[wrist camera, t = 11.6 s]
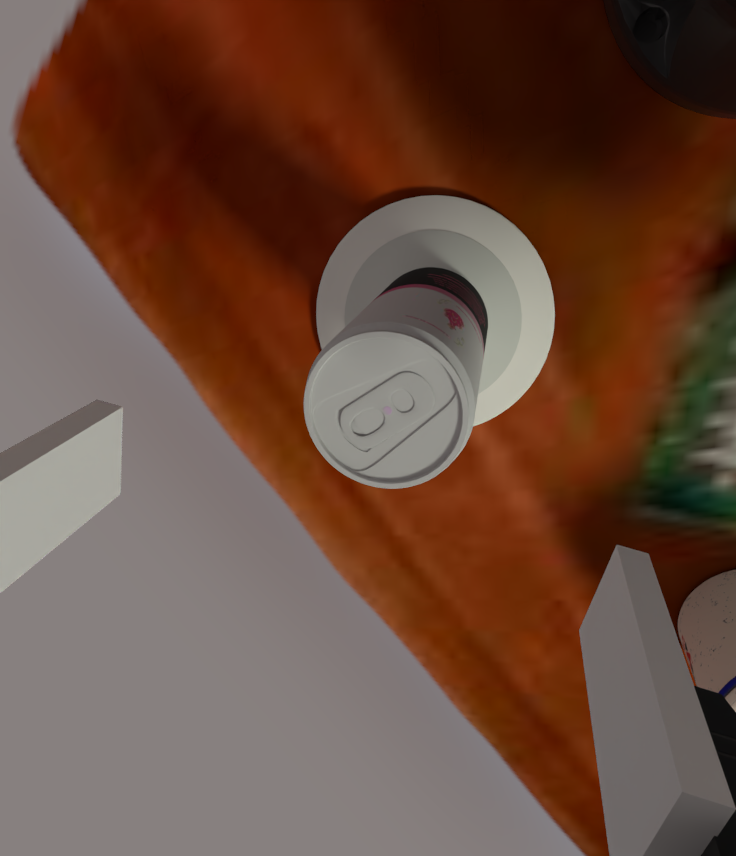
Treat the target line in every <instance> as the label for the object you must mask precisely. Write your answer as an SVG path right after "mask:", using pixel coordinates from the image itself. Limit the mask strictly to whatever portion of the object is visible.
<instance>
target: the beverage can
mask: <svg viewBox="0 0 736 856" xmlns="http://www.w3.org/2000/svg"><path fill="white" fill-rule="evenodd" d="M487 331H488V316H487V311H486V307H485V304H484V302H483V300H482V298H481V296H480V294H479V293H478V291H477V290H476V289H475V287H474V286H473V285H472V284H471V283H470V282H469V281H468V280H466V279H465V278H464V277H462V276H461V275H459V274H457V273H455V272H453V271H450V270H447V269H443V268H436V267H425V268H419V269H415V270H412V271H409V272H407V273H405V274H403V275H401V276H400V277H398V278H397V279H396V280H395V281H393V282H392V283H391V284H390V285H389V286H388V287H387V288H386V289H385V290H384V291H383V292H382V293H381V294H380V295H379V296H377V297H376V298H375V299H374V300H373V301H372V302H371V303H370V304H369V305H368V306H367V307H366V308H365V309H364V310H363V311H362V312H361V313H360V314H359V315H357V316H356V317H355V318H354V319H353V320H352V321H351V322H350V323H349V324H348V325H347V326H346V327H345V328H344V329H343V330H342V331H341V332H340V333H338V334H337V335H336V336H335V337H334V338H333V339H332V340H331V341H330V342H329V343H328V344H327V345H326V346H325V347H324V348H323V349H322V351H321V352H320V353H319V355H318V356H317V358H316V359H315V361H314V363H313V365H312V367H311V369H310V372H309V375H308V379H307V383H306V388H305V394H304V415H305V421H306V425H307V428H308V431H309V434H310V436H311V438H312V440H313V442H314V444H315V446H316V447H317V449H318V450H319V452H320V453H321V454H322V456H323V457H324V458H325V459H326V460H327V461H328V462H329V463H330V464H331V465H332V466H333V467H334V468H336V469H337V470H338V471H340V472H341V473H342V474H344V475H346V476H347V477H349V478H351V479H353V480H355V481H357V482H360V483H363V484H366V485H369V486H373V487H379V488H389V489H396V488H406V487H411V486H414V485H418V484H421V483H423V482H426V481H428V480H430V479H432V478H433V477H435V476H437V475H438V474H439V473H441V472H442V471H443V470H444V469H446V468H447V467H448V466H449V465H450V464H451V462H452V461H454V460H455V458H456V457H457V456H458V455H459V454H460V452H461V451H462V450H463V448H464V446H465V445H466V443H467V441H468V439H469V436H470V434H471V431H472V428H473V423H474V418H475V411H476V405H477V398H478V391H479V385H480V378H481V371H482V365H483V358H484V351H485V345H486V338H487Z"/></svg>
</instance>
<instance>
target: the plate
mask: <svg viewBox="0 0 736 856" xmlns="http://www.w3.org/2000/svg"><path fill="white" fill-rule="evenodd" d="M425 267H436V268H443V269H447V270H450V271H453V272H455V273H457V274H459V275H461V276H462V277H464V278H465V279H466V280H468V281H469V282H470V283H471V284H472V285H473V286H474V287H475V289H476V290H477V291H478V293H479V294H480V296H481V298H482V300H483V302H484V304H485V307H486V311H487V316H488V331H487V338H486V345H485V351H484V358H483V365H482V371H481V378H480V385H479V391H478V398H477V405H476V411H475V418H474V423H473V426H476V425H479V424H482V423H484V422H486V421H488V420H490V419H492V418H494V417H496V416H497V415H499V414H500V413H502V412H503V411H505V410H506V409H508V408H509V407H510V406H512V405H513V404H514V403H515V402H516V401H517V400H518V399H520V398H521V396H522V395H523V394H524V393H525V392H526V391H527V390H528V389H529V387H530V386H531V385H532V383H533V382H534V380H535V379H536V377H537V376H538V374H539V373H540V371H541V369H542V367H543V365H544V363H545V361H546V358H547V355H548V352H549V349H550V346H551V342H552V337H553V332H554V319H555V309H554V297H553V292H552V288H551V283H550V280H549V277H548V274H547V272H546V269H545V266H544V264H543V262H542V260H541V258H540V256H539V255H538V253H537V251H536V249H535V248H534V246H533V245H532V244H531V242H530V241H529V240H528V238H527V237H526V236H525V235H524V234H523V233H522V232H521V231H520V230H519V229H518V228H517V227H516V226H515V225H514V224H513V223H512V222H510V221H509V220H508V219H506V218H505V217H504V216H502V215H501V214H499V213H498V212H496V211H494V210H492V209H491V208H489V207H487V206H485V205H482V204H479V203H477V202H474V201H472V200H468V199H464V198H459V197H455V196H445V195H427V196H418V197H413V198H407V199H403V200H401V201H398V202H395V203H392V204H389V205H387V206H385V207H383V208H381V209H379V210H377V211H375V212H373V213H372V214H370V215H369V216H367V217H366V218H364V219H363V220H361V221H360V222H359V223H358V224H357V225H356V226H355V227H354V228H352V229H351V230H350V231H349V232H348V233H347V235H346V236H345V237H344V238H343V239H342V240H341V242H340V243H339V244H338V246H337V247H336V249H335V250H334V252H333V254H332V255H331V257H330V259H329V261H328V263H327V265H326V267H325V270H324V272H323V275H322V279H321V282H320V285H319V290H318V296H317V305H316V321H317V331H318V336H319V341H320V345H321V348H322V349H323V348H324V347H325V346H326V345H327V344H328V343H329V342H330V341H331V340H332V339H333V338H334V337H335V336H336V335H337V334H338V333H340V332H341V331H342V330H343V329H344V328H345V327H346V326H347V325H348V324H349V323H350V322H351V321H352V320H353V319H354V318H355V317H356V316H357V315H359V314H360V313H361V312H362V311H363V310H364V309H365V308H366V307H367V306H368V305H369V304H370V303H371V302H372V301H373V300H374V299H375V298H376V297H377V296H379V295H380V294H381V293H382V292H383V291H384V290H385V289H386V288H387V287H388V286H389V285H390V284H391V283H392V282H393V281H395V280H396V279H397V278H398V277H400V276H401V275H403V274H405V273H407V272H409V271H412V270H415V269H419V268H425Z"/></svg>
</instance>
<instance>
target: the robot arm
mask: <svg viewBox="0 0 736 856" xmlns="http://www.w3.org/2000/svg"><path fill="white" fill-rule="evenodd" d="M604 5H605V10H606V14H607V18H608V21H609V24H610V27H611V30H612V33H613V35H614V37H615V39H616V42H617V44H618V46H619V48H620V50H621V51H622V53H623V55H624V57H625V58H626V60H627V61H628V62H629V64H630V65H631V67H632V68H633V69H634V70H635V72H636V73H637V74H638V75H639V76H640V77H641V78H642V79H643V80H644V81H645V82H646V83H647V84H648V85H649V86H650V87H651V88H652V89H654V90H655V91H656V92H658V93H659V94H660V95H662V96H663V97H665V98H666V99H668V100H670V101H672V102H673V103H675V104H677V105H679V106H682V107H684V108H686V109H689V110H692V111H694V112H697V113H701V114H705V115H709V116H714V117H720V118H731V119H736V0H604ZM122 419H123V407H122V406H118V405H115V404H111V403H108V402H104V401H100V400H95V401H93V402H92V403H90V404H88V405H87V406H84V407H83V408H81V409H79V410H77V411H76V412H74V413H72V414H70V415H68V416H66V417H65V418H63V419H61V420H59V421H57V422H56V423H54V424H52V425H50V426H48V427H47V428H45V429H43V430H41V431H39V432H38V433H36V434H34V435H32V436H30V437H28V438H27V439H25V440H23V441H21V442H20V443H18V444H16V445H14V446H12V447H11V448H9V449H7V450H5V451H3V452H1V453H0V593H1V592H2V591H4V590H5V589H6V588H7V587H8V586H10V585H11V584H12V583H13V582H14V581H16V580H17V579H18V578H19V577H20V576H22V575H23V574H24V573H25V572H27V571H28V570H29V569H30V568H31V567H32V566H34V565H35V564H36V563H37V562H39V561H40V560H41V559H42V558H44V557H45V556H46V555H47V554H48V553H49V552H51V551H52V550H53V549H54V548H56V547H57V546H58V545H59V544H61V543H62V542H63V541H64V540H65V539H67V538H68V537H69V536H70V535H71V534H73V533H74V532H75V531H76V530H77V529H79V528H80V527H81V526H82V525H83V524H85V523H86V522H87V521H88V520H89V519H91V518H92V517H93V516H94V515H96V514H97V513H98V512H99V511H100V510H102V509H103V508H104V507H105V506H106V505H108V504H109V503H110V502H111V501H113V500H114V499H115V498H116V497H117V496H119V495H120V494H121V460H122V422H123V420H122ZM579 633H580V640H581V648H582V655H583V662H584V670H585V677H586V685H587V692H588V699H589V707H590V714H591V721H592V729H593V736H594V744H595V751H596V758H597V766H598V773H599V780H600V788H601V795H602V803H603V810H604V817H605V825H606V832H607V839H608V847H609V854H610V856H736V712H735V711H734V709H733V708H732V707H731V706H730V704H729V703H728V702H727V701H726V699H725V698H724V697H723V696H722V694H720V693H716V692H713V691H710V690H706V689H703V688H700V687H697V686H694V685H693V682H692V679H691V676H690V673H689V670H688V667H687V664H686V661H685V658H684V656H683V653H682V650H681V647H680V644H679V641H678V638H677V635H676V632H675V629H674V626H673V623H672V621H671V618H670V615H669V612H668V609H667V606H666V603H665V600H664V597H663V594H662V591H661V588H660V585H659V583H658V580H657V577H656V574H655V571H654V568H653V565H652V562H651V559H650V556H649V553H645V552H641V551H638V550H634V549H631V548H627V547H624V546H620V545H616V547H615V549H614V552H613V554H612V556H611V558H610V561H609V563H608V565H607V568H606V570H605V572H604V575H603V577H602V579H601V581H600V584H599V586H598V588H597V591H596V593H595V595H594V597H593V600H592V602H591V604H590V607H589V609H588V611H587V613H586V616H585V618H584V620H583V623H582V625H581V627H580V630H579Z"/></svg>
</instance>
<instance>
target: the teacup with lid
mask: <svg viewBox="0 0 736 856" xmlns="http://www.w3.org/2000/svg"><path fill="white" fill-rule="evenodd" d="M678 633H679V637H680V640H681V643H682V646H683V649H684V652H685V654H686V657H687V660H688V663H689V666H690V668H691V671H692V674H693V677H694V680H695V682H696V685H697V687H700V688H703V689H706V690H710V691H713V692H716V693H720V694H722V696H723V697H724V698H725V699H726V701H727V702H728V703H729V704H730V706H731V707H732V708H733V709H734V711H735V712H736V570H731V571H727V572H724V573H721V574H718V575H716V576H714V577H712V578H710V579H708V580H706V581H705V582H703V583H702V584H700V585H699V586H698V587H697V588H695V589H694V590H693V591H692V592H691V593H690V595H689V596H688V597H687V598H686V600H685V602H684V603H683V605H682V607H681V610H680V613H679V617H678Z"/></svg>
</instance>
